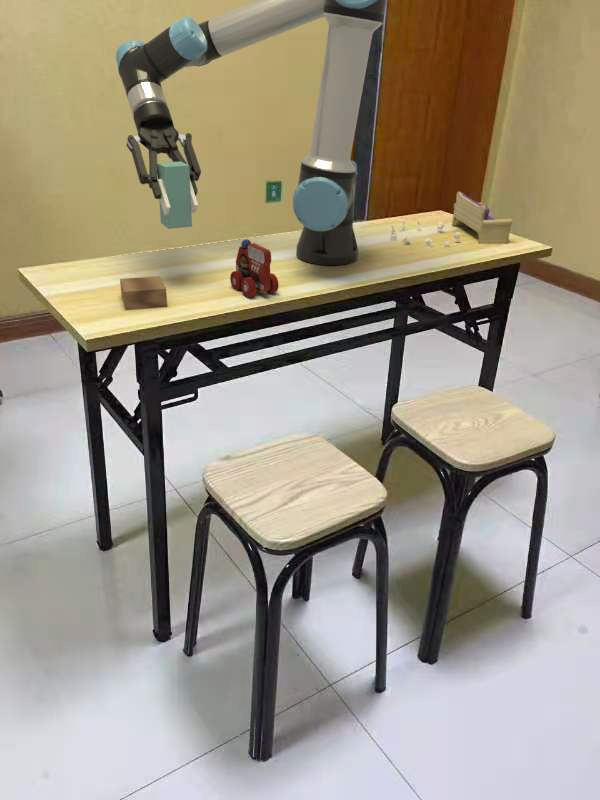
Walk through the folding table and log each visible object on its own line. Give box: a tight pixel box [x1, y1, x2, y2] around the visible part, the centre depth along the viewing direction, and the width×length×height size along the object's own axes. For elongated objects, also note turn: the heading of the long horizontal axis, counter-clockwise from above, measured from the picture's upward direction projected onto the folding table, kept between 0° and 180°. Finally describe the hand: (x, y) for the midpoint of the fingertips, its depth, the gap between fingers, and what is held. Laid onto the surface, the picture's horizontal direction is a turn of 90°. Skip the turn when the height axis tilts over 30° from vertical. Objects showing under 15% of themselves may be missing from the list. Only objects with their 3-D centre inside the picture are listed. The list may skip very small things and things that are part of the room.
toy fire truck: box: [230, 239, 280, 298], centre depth 143 cm, size 7×12×10 cm, turn 33°
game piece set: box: [390, 219, 461, 249], centre depth 187 cm, size 19×20×4 cm
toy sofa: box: [451, 191, 514, 245], centre depth 192 cm, size 21×9×10 cm, turn 11°
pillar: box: [157, 161, 193, 230], centre depth 138 cm, size 5×5×12 cm
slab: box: [119, 275, 168, 311], centre depth 136 cm, size 8×8×4 cm
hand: (181, 209), depth 137 cm, fingers closed on pillar, 5 cm apart
